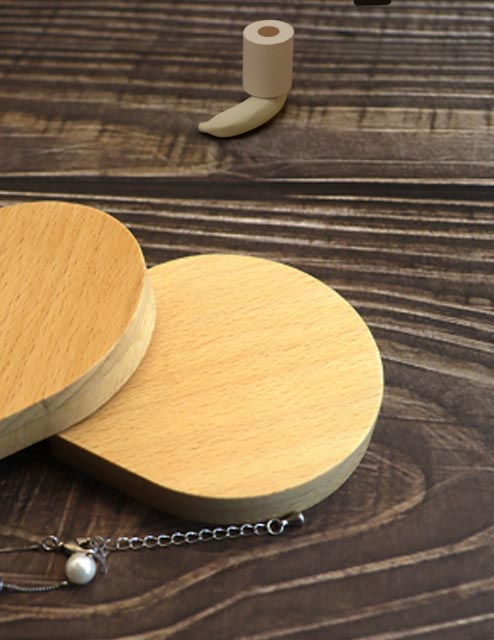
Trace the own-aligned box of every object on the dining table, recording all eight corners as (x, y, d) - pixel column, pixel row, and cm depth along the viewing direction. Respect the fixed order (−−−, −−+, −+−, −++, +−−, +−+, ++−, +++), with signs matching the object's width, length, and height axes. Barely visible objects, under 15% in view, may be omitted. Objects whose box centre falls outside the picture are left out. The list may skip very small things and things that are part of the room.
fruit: (310, 85, 123) (311, 60, 120) (251, 148, 114) (252, 122, 112) (256, 73, 126) (257, 48, 123) (196, 133, 117) (195, 108, 115)
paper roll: (268, 67, 120) (270, 14, 115) (301, 85, 117) (304, 31, 112) (232, 85, 118) (232, 31, 113) (265, 103, 115) (266, 48, 110)
